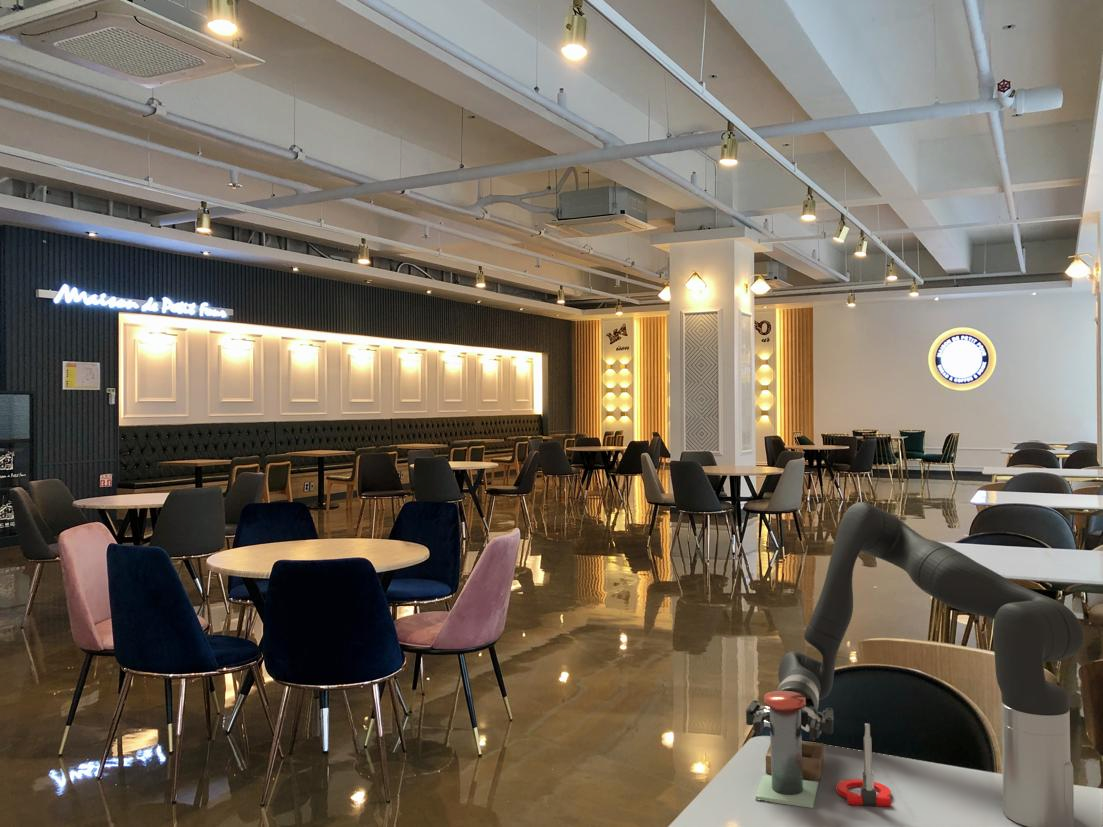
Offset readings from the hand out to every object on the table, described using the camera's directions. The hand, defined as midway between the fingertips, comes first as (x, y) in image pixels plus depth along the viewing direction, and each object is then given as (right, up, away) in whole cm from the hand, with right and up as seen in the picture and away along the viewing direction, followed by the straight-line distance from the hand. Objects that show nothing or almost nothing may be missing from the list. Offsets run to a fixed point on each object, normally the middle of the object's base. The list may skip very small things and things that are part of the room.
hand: (784, 731), depth 146 cm
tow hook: (+13, -11, +1) cm, 17 cm away
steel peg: (+1, -10, +2) cm, 10 cm away
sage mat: (+1, -11, +2) cm, 11 cm away
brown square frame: (+5, -11, +12) cm, 17 cm away
